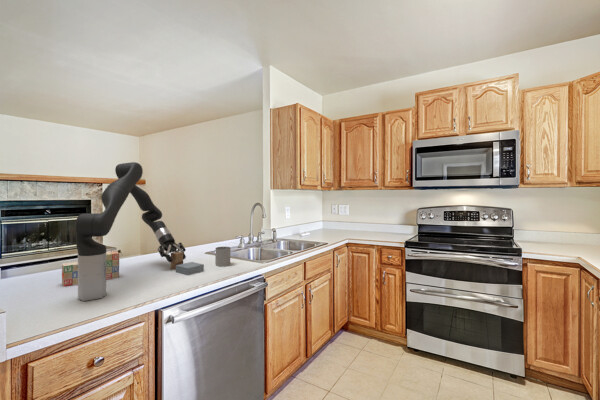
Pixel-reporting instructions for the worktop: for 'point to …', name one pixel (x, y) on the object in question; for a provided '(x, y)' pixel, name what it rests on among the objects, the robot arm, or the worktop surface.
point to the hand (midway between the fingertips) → (178, 260)
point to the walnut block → (176, 259)
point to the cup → (222, 256)
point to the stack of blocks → (72, 269)
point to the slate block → (189, 268)
